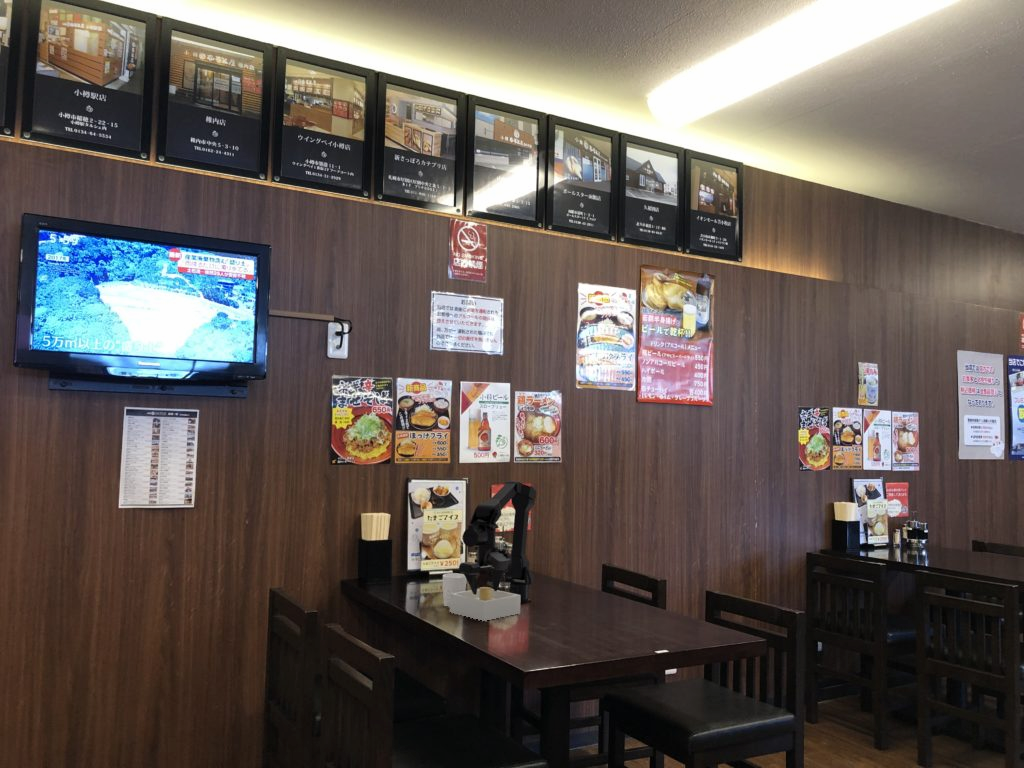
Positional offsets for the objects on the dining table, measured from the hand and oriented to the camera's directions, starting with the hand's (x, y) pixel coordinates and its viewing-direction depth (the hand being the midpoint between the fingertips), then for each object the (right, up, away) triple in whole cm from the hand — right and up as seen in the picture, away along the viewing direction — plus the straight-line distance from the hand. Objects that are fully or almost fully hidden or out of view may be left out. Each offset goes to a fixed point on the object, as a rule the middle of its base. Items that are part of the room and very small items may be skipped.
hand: (485, 592), depth 258 cm
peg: (0, -7, 0) cm, 7 cm away
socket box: (0, -7, 0) cm, 7 cm away
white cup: (-11, -7, +10) cm, 16 cm away
